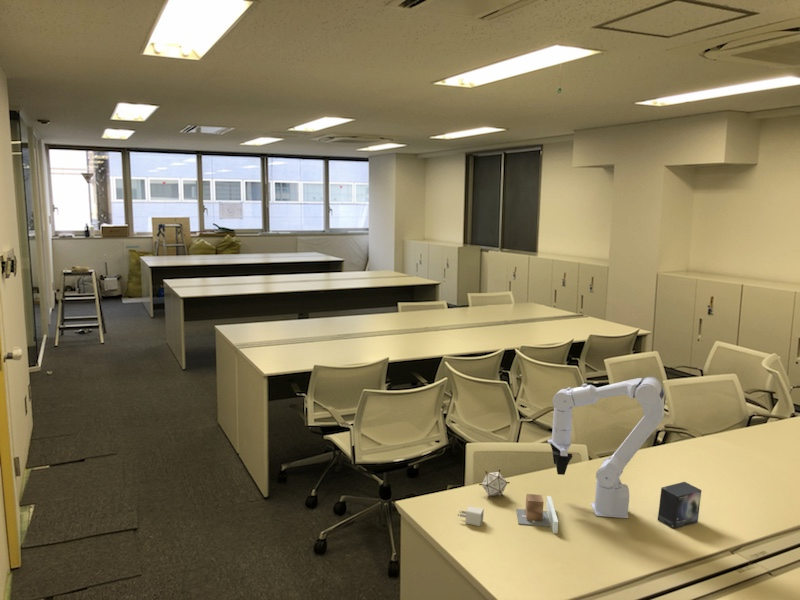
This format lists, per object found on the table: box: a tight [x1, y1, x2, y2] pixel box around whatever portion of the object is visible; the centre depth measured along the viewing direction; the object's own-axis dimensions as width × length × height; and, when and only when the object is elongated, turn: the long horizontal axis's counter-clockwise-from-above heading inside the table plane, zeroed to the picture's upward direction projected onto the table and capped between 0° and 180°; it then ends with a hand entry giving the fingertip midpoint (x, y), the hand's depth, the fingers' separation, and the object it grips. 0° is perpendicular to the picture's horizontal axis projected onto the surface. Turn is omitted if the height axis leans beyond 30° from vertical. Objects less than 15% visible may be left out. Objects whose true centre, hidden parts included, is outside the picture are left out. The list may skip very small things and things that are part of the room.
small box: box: [657, 481, 703, 530], centre depth 183 cm, size 11×6×10 cm, turn 117°
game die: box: [478, 468, 511, 499], centre depth 197 cm, size 9×8×10 cm
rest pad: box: [515, 508, 551, 528], centre depth 184 cm, size 9×9×1 cm
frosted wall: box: [545, 495, 559, 535], centre depth 183 cm, size 1×16×4 cm, turn 173°
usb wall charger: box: [457, 505, 485, 527], centre depth 180 cm, size 4×7×4 cm, turn 70°
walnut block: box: [525, 493, 545, 521], centre depth 183 cm, size 4×4×6 cm
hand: (559, 469), depth 195 cm, fingers open, 7 cm apart
